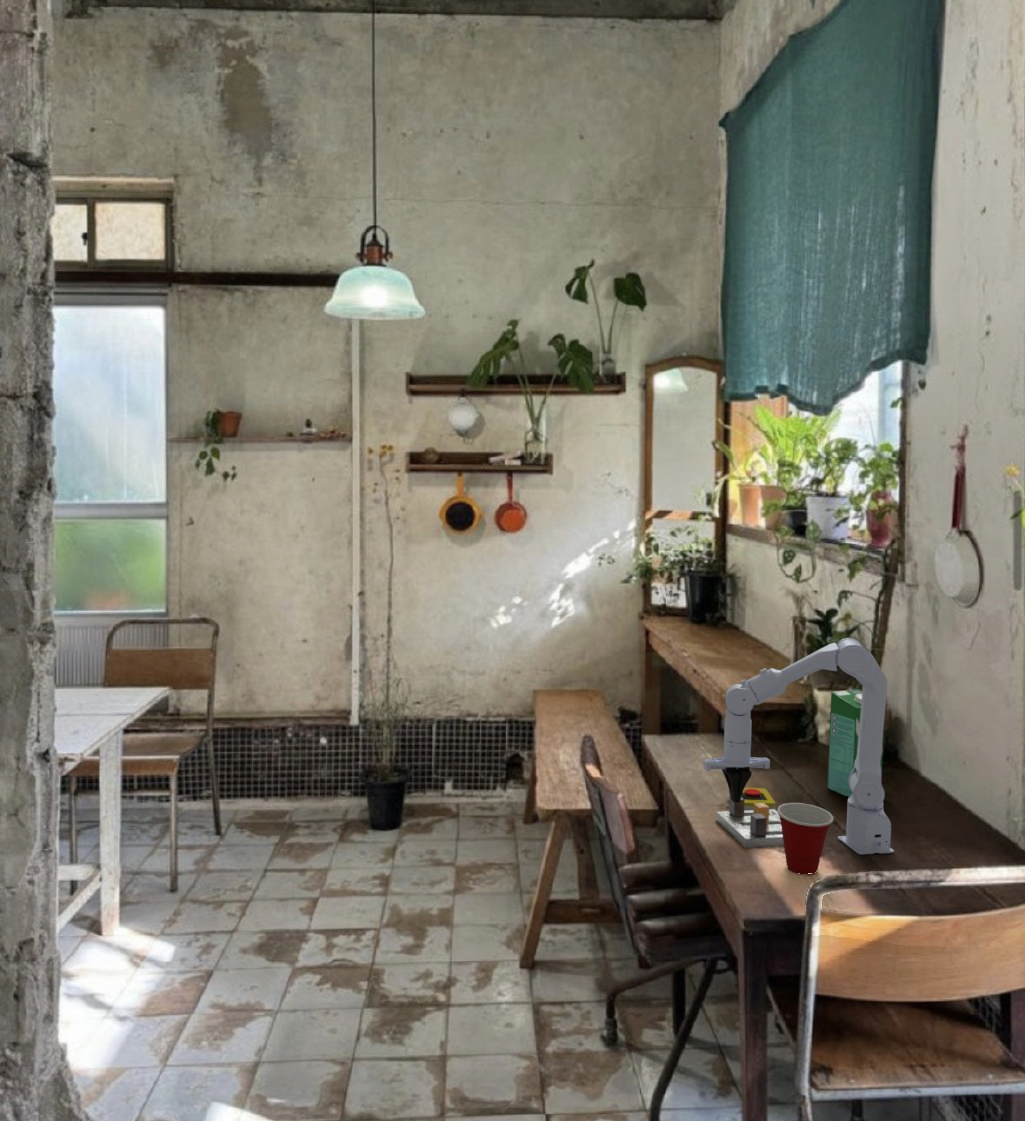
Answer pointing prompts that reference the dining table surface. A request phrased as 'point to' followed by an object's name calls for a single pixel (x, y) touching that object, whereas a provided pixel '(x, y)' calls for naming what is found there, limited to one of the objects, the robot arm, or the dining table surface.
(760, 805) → the breaker
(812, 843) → the plastic cup
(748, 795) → the emergency button
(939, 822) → the dining table surface
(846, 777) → the milk carton
